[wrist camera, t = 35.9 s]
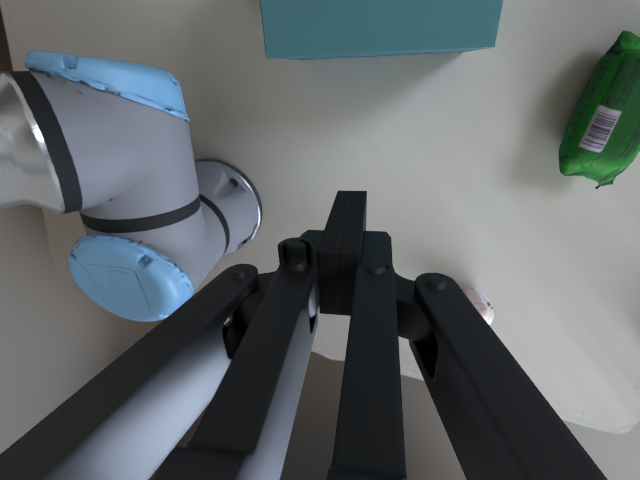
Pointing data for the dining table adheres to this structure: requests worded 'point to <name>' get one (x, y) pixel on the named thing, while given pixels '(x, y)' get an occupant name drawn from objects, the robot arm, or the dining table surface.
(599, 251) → the dining table surface
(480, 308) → the garlic bulb
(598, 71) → the snack package
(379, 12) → the lunchbox lid
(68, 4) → the dining table surface
